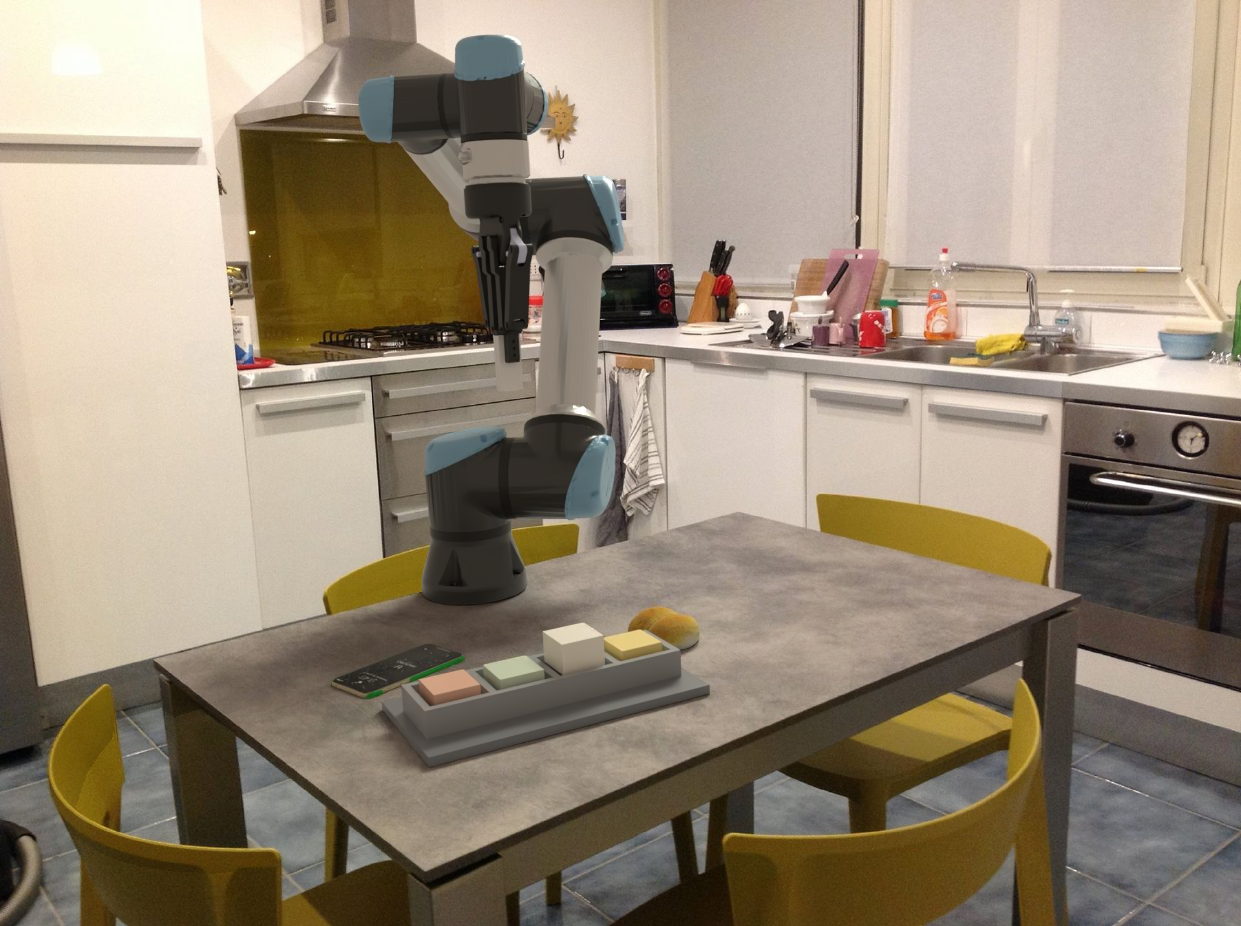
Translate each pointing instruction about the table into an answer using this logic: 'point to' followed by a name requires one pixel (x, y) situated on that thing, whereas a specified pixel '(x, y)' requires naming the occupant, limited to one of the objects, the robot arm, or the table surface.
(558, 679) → the grey compartment tray
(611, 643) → the key mustard
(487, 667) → the key sage
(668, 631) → the bread roll
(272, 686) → the table surface
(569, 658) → the key ivory
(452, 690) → the key terracotta
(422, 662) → the smartphone
